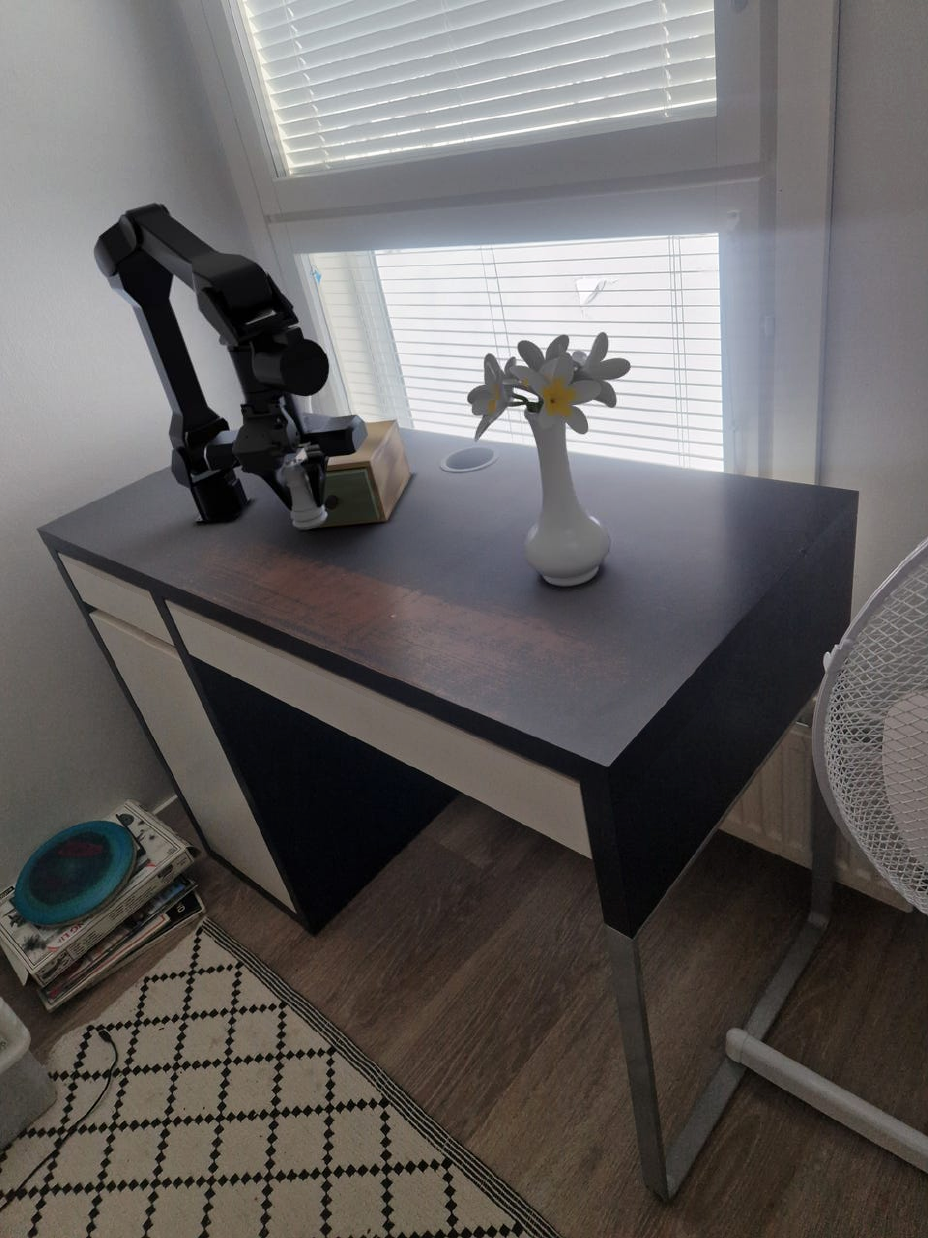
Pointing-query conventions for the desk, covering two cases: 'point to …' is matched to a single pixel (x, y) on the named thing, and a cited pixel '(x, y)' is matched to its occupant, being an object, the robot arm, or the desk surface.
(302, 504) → the rook chess piece
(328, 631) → the desk surface
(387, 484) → the drawer unit
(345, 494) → the drawer
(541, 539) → the flower vase
